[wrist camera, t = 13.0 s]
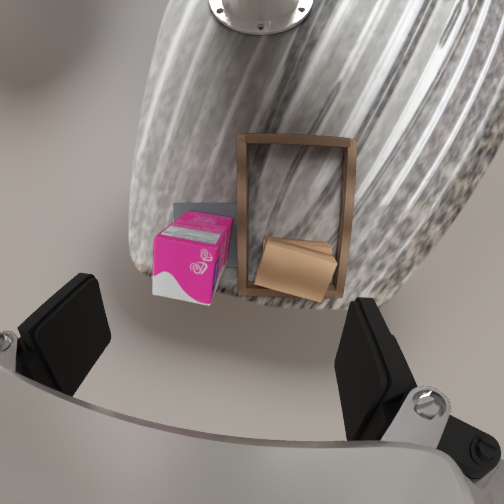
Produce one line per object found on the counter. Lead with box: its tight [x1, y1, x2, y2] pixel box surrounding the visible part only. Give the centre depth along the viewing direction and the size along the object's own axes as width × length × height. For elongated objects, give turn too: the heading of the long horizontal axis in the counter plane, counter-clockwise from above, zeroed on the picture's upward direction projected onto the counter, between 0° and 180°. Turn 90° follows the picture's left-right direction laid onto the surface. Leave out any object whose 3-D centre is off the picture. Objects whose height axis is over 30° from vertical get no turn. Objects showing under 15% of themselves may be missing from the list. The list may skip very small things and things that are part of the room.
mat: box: [174, 203, 238, 268], centre depth 35 cm, size 8×8×1 cm
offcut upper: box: [254, 236, 337, 302], centre depth 33 cm, size 5×8×2 cm, turn 75°
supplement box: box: [152, 210, 234, 306], centre depth 30 cm, size 6×6×12 cm
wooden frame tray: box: [237, 133, 357, 298], centre depth 32 cm, size 19×13×3 cm
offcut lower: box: [262, 236, 332, 255], centre depth 35 cm, size 5×8×2 cm, turn 86°
